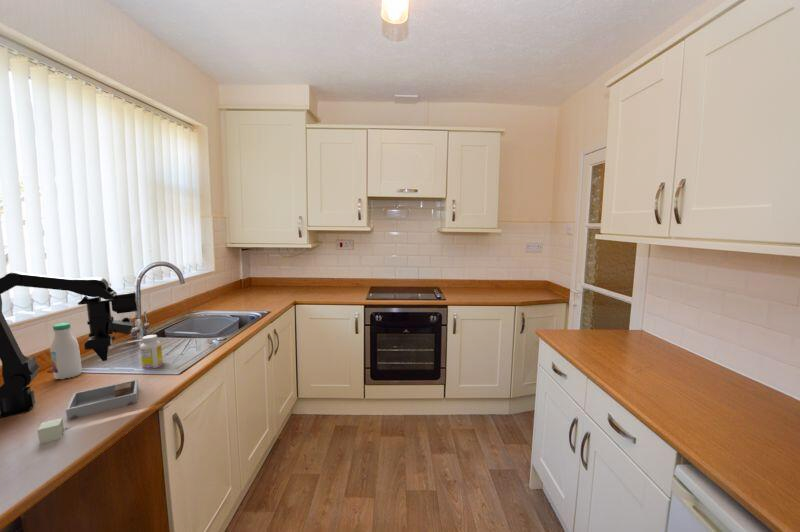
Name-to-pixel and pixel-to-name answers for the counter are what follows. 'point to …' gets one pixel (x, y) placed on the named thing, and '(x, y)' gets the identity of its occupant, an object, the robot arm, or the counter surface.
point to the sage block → (50, 430)
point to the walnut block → (123, 389)
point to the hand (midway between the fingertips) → (105, 360)
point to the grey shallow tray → (99, 400)
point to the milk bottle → (65, 353)
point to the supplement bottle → (151, 352)
